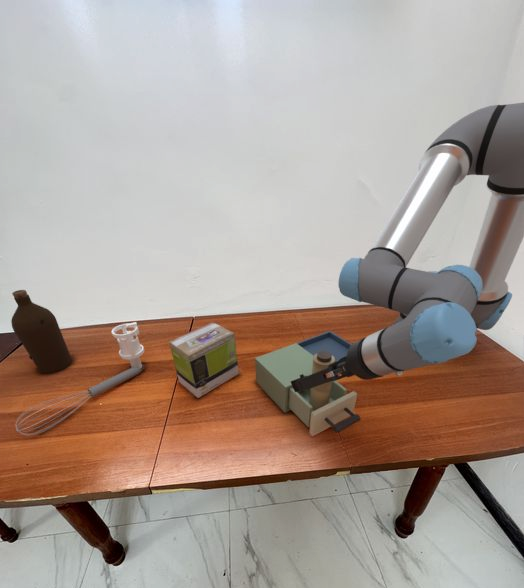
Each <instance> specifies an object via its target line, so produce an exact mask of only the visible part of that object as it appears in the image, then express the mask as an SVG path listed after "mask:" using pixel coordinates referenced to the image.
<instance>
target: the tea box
mask: <svg viewBox="0 0 524 588" xmlns="http://www.w3.org/2000/svg"><path fill="white" fill-rule="evenodd" d="M168 343H169V349H170V352H171V356H172V360H173V363H174V367H175V371H176V376H177V379H178V382H179V383H180V385H182V386H183V387H184V388H185V389H186V390H187V391H188V392H190V393H191V394H192V395H193V396H195V397H196V398H197V399H199V398H201V397H203V396H205V395H206V394H208V393H209V392H210V391H212V390H214V389H216V388H218V387H219V386H221V385H224V384H225V383H226V382H228V381H229V380H232V379H233V378H235V377H237V376H238V375H240V374H239V373H240V372H239V371H240V369H239V363H238V353H237V346H236V345H237V344H236V337H235V333H234V332H233V331H232V330H229V329H227V328H225V327H223V326H222V325H219V324H218V323H215V321H214V322H209V323H208V324H206V325H203V326H201V327H199V328H197V329H195V330H192V331H190V332H188V333H185V334H184V335H181V336H179V337H176V338H175V339H173V340H170V341H168Z"/></svg>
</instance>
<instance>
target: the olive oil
mask: <svg viewBox="0 0 524 588" xmlns="http://www.w3.org/2000/svg"><path fill="white" fill-rule="evenodd" d="M11 294H12V296H13V299H14V301H15V303H16V304H17V307H16V309H15V311H14V313H13V315H12V317H11V320H10V322H11V328H12V330H13V333H14V334H15V335H16V336H17V339H18V340H19V341H20V342H21V345H22V346H23V347H24V350H26V352H27V354H28V357H29V359H30V360H31V361H32V362H33V363H34V365H35V366H36V368H37V370H38V371H39V372H40V373H42V374H52V373H58V372H60V371H63V370H65V369H66V368H68V367H69V366H70V365H71V364H72V362H73V358H72V355H71V353H70V351H69V349H68V345H67V343H66V341H65V338H64V336H63V334H62V331H61V328H60V326H59V323H58V321H57V317H56V316H55V315H54V314H53V312H52V311H50V309H48V308H47V307H44V306H41V305H39V304H37V303H34V302H32V299H31V297H30V295H29V294H28V292H27V290H26V289H18V290H15V291H13V292H12V293H11Z"/></svg>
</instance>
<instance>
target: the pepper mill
mask: <svg viewBox="0 0 524 588" xmlns="http://www.w3.org/2000/svg"><path fill="white" fill-rule="evenodd" d="M334 362H335V358H334V356H332V354H331V353H330V352H328V351H320V352H318V353H317V354H315V355H314V356H313V364H312V374H313V373H316V372H318V371H321V370H323V369H326V368H328V366H329V364H331V363H334ZM331 385H332V381H331V382H327V383H324V384H322V385H319V386H316V387H313V388H310V398H309V404H310V405H311V406H312V407H313V408H312V412H313V411H315V410H317V409H319V408H321V407H323V406H325V405H327V404H329V399H330V392H331Z"/></svg>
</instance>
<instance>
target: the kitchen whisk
mask: <svg viewBox="0 0 524 588" xmlns="http://www.w3.org/2000/svg"><path fill="white" fill-rule="evenodd" d="M141 366H142V369H140V368H139V366H136V367H132V368H128V369H126V370H124V371H122V372H120V373H118V374H116V375H113V376H112V377H110V378H108V379H106V380H104V381H101V382H99V383H98V384H95V385H93V386H91V387H89V388H87V390H86V391H81V392H76V393H72V394H68V395H64V396H59V397H56V398H53V399H49V400H47V401H44V402H41V403H38V404H37V405H34V406H33V407H30V408H28V409H27V410H25V411H23V414H22V415H20V416H19V417H18V418H17V419H16V422H15V428H16V430H15V431H16V432H18V433H20V435H23V436H28V437H30V436H31V435H32V436H35V435H39V434H41V433H43V432H46V431H47V430H50V429H52V428H53V427H55V426H56V425H58V424H60V423H61V422H62V421H64V420H65V419H66V418H68V417H70V416H71V415H72V414H73V413H74V412H75V410H78V409H79V408H81V406H83V405H84V404H85V403H86V402H87V401H88V400H89V399H90V398H91V399H92V398H95V397H97V396H99V395H101V394H104V393H105V392H107V391H109V390H111V389H113V388H114V387H116V386H119V385H120V384H122V383H125V382H127V381H128V380H131V379H132V378H134V377H136V376H138V375H139V374H140V373H141V372H142V370H143V369H145V368H146V365H145V364H142V365H141ZM84 394H85V395H84ZM76 397H77V398H76ZM73 398H75V399H73ZM70 399H73V400H70ZM78 399H79V400H78ZM61 400H62V401H61ZM67 400H70V401H68V402H66V403H63V404H61V405H59V406H57V407H55V408H53V409H50V410H48V411H46V412H44V413H42V414H40V415H39V416H36V417H34V418H32V419H30V420H28V421H26V422H25V423H23V422H24V421H25V420H27V419H28V418H29V417H31V416H33V415H34V414H37V413H38V412H40V411H42V410H46V409H47V408H49V407H51V406H55V405H57V404H60V403H62V402H64V401H67ZM76 400H77V401H76ZM57 401H59V402H57ZM74 401H76V402H74ZM55 402H56V403H55ZM71 402H74V403H71ZM51 403H54V404H51ZM69 403H71V404H70V405H69V406H66V407H65V408H63V409H61V410H59V411H57V412H56V413H54V414H52V415H50V416H48V417H46V418H45V419H43V420H40V421H38V422H37V423H33V424H32V425H30V426H27V427H25V428H21V429H20V427H23V426H24V425H25V424H27V423H29V422H32V421H34V420H35V419H37V418H39V417H41V416H43V415H45V414H47V413H49V412H51V411H54V410H56V409H58V408H59V407H60V408H61V407H62V406H64V405H67V404H69ZM49 404H51V405H49ZM46 405H48V406H46ZM44 406H45V407H44ZM76 406H77V407H76ZM40 407H41V408H42V407H44V408H42V409H40V410H37V409H38V408H40ZM68 408H69V409H68ZM73 408H75V409H73ZM72 409H73V410H72ZM35 410H37V411H36V412H35ZM64 410H65V411H64ZM70 410H72V411H71V412H69V413H68V414H67V415H65V416H64V417H62V418H61V419H60V420H58V421H56V422H54V423H52V424H51V425H50V426H48V427H47V426H46V428H43V429H40V430H39V431H35V432H32V433H28V432H31V431H34V430H37V429H39V428H41V427H43V426H45V425H46V424H48V423H51V422H52V421H54V420H55V419H57V418H59V417H60V416H62V415H63V414H65V413H67V412H68V411H70ZM32 411H34V412H33V413H31V414H29V415H28V416H27V417H25V418H24V419H22V420H21V421H20V422H19V423H18V421H19V420H20V419H21V418H22V417H24V416H25V415H27V414H28V413H30V412H32ZM63 411H64V412H63ZM61 412H63V413H61ZM59 413H61V414H59ZM57 414H59V415H58V416H56V417H54V416H55V415H57ZM51 417H54V418H53V419H51V420H49V421H48V422H46V423H43V424H42V425H40V426H38V427H35V428H32V429H30V430H26V429H28V428H31V427H33V426H35V425H38V424H39V423H41V422H44V421H45V420H48V419H49V418H51ZM17 424H18V425H17ZM24 430H26V431H25V432H22V431H24Z"/></svg>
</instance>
